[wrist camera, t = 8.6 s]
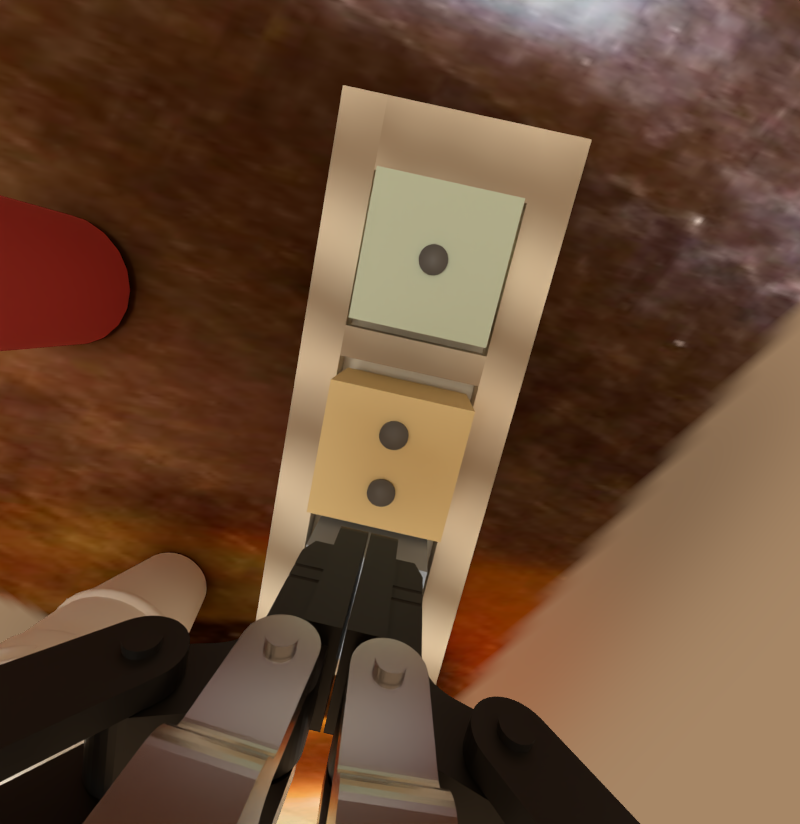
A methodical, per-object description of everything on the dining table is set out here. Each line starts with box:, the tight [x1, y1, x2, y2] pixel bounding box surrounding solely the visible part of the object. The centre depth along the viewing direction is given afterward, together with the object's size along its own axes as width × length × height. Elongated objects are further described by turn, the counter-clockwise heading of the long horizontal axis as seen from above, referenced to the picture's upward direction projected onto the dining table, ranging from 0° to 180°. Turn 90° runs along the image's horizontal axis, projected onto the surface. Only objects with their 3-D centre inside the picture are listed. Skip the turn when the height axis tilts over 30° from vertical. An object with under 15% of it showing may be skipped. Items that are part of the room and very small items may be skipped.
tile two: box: [307, 368, 475, 542], centre depth 20 cm, size 6×6×4 cm
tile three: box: [306, 516, 427, 659], centre depth 24 cm, size 6×6×4 cm
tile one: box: [349, 166, 525, 348], centre depth 20 cm, size 6×6×4 cm
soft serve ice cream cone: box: [0, 553, 207, 785], centre depth 19 cm, size 8×8×16 cm
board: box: [256, 85, 591, 685], centre depth 23 cm, size 30×11×2 cm, turn 168°
